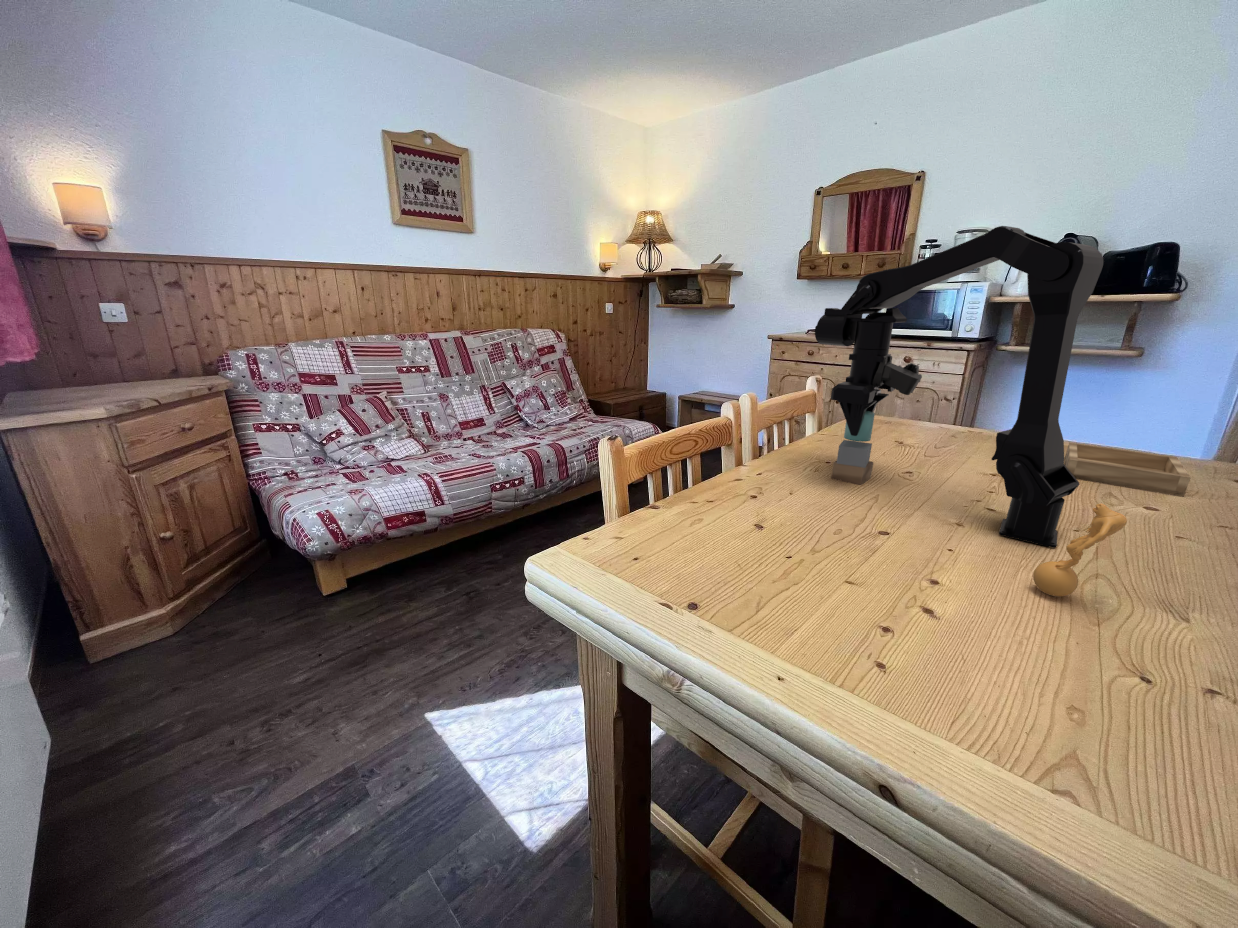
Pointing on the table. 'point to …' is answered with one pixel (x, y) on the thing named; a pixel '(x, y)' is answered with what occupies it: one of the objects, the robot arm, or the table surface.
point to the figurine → (1077, 554)
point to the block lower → (851, 473)
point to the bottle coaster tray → (1127, 468)
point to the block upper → (854, 453)
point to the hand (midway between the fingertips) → (858, 433)
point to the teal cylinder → (862, 429)
